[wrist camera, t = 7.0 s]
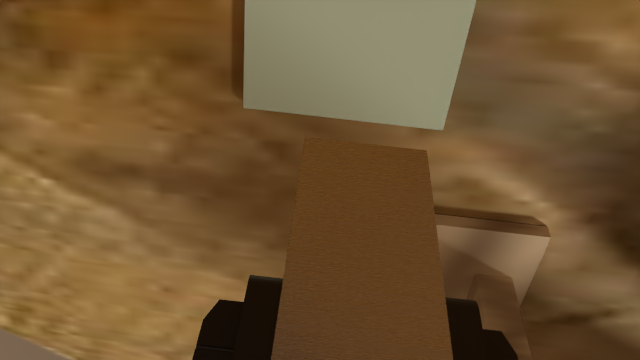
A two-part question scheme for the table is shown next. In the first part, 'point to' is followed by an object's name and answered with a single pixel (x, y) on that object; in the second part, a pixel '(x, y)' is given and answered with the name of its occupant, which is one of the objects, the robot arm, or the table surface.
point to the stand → (492, 269)
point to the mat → (355, 58)
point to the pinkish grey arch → (362, 258)
